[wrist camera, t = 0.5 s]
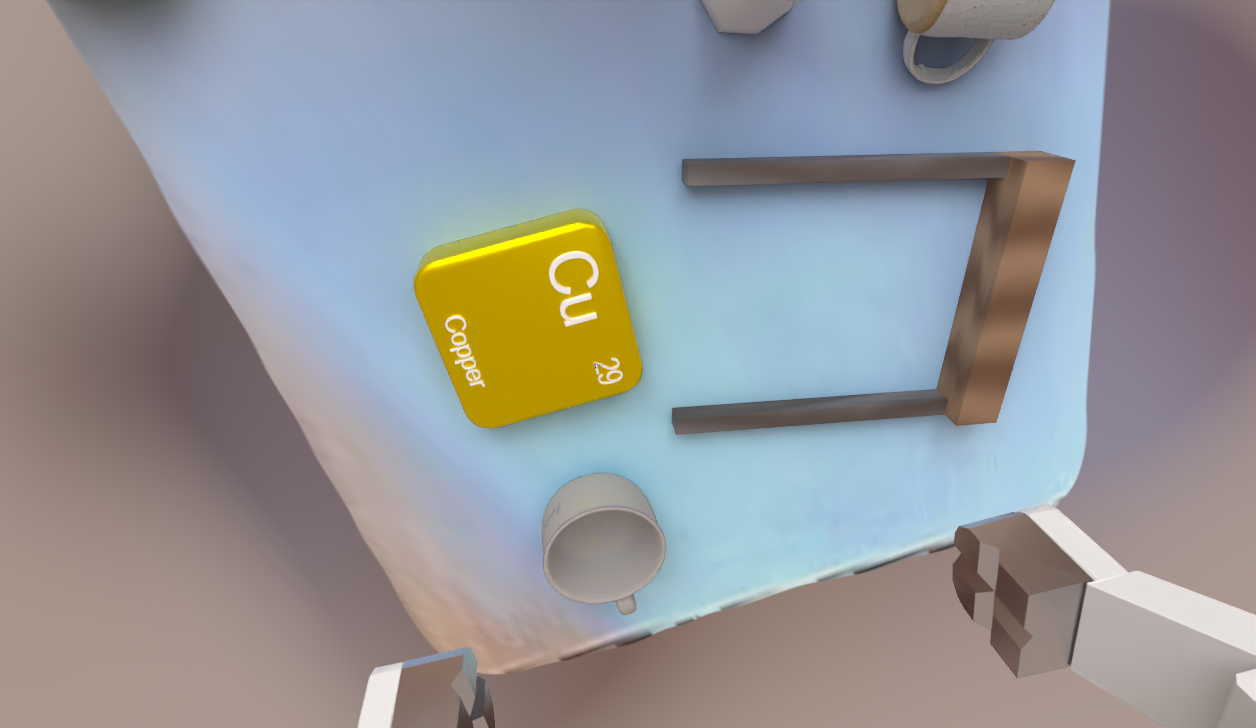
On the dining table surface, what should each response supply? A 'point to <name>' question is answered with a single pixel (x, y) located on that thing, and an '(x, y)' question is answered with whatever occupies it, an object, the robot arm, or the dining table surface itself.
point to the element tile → (530, 318)
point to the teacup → (601, 541)
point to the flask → (745, 14)
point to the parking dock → (989, 297)
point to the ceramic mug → (965, 28)
